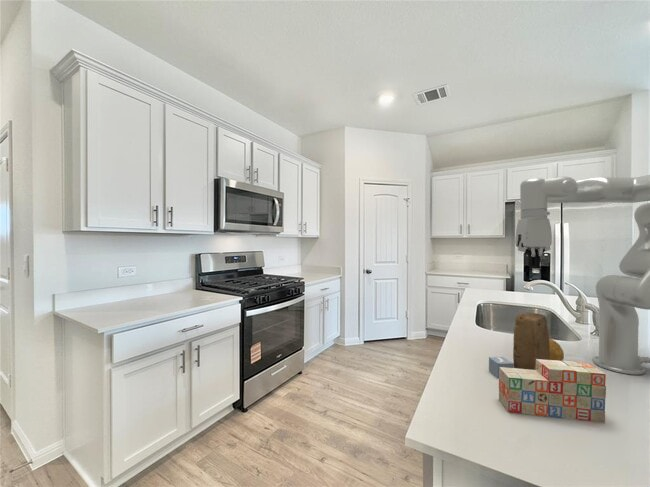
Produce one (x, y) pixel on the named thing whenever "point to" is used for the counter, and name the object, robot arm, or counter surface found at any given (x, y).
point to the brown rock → (530, 340)
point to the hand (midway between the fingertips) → (534, 267)
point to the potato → (555, 351)
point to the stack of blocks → (555, 390)
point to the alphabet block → (498, 365)
